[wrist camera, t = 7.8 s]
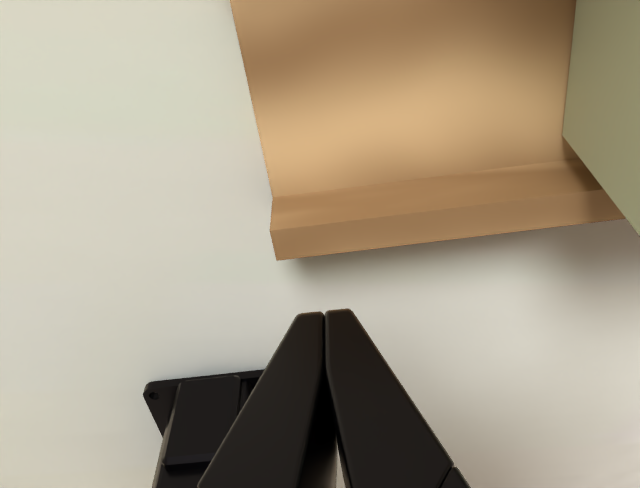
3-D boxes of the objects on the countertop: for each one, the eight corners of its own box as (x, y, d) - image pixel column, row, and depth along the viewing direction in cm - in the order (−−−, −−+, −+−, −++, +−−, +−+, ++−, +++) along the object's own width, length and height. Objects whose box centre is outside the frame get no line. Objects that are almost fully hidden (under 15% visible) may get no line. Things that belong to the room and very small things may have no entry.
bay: (791, 145, 21) (855, 190, 19) (280, 210, 22) (276, 260, 20) (946, -286, 14) (1075, -304, 12) (201, -159, 16) (182, -152, 13)
